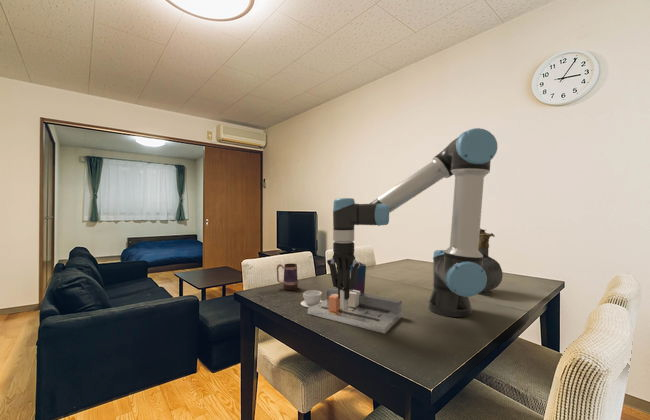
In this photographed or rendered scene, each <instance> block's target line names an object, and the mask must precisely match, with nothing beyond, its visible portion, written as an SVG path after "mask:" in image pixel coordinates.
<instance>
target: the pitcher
mask: <svg viewBox="0 0 650 420" xmlns="http://www.w3.org/2000/svg"><path fill="white" fill-rule="evenodd" d="M486 231H487V229H483V228H480V233H479V246H478V250H479V252H480V253H481V254H482V255H483V263H482V268H483V269H484V271H485V273H486V276H487V282H486V286H485V288H484V289H483V290H482V291H481V292H480V293H478V294H477V295H480V296H481V295H482V296H490V295H492V293H493V292H492V291H491V290H494V289H496V288H498V287H499V285H500V284H501V282H502V281H503V270H502V267H501V265H500V263H499V262H498V261H497V260H496V259H494V258H493V257H491V256H489V248H490V243H489V242H490V238H491V237H493V238H494V237H496V236H495V234H494V233H492V232H491V233H487V232H486Z"/></svg>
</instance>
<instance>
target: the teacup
mask: <svg viewBox="0 0 650 420" xmlns="http://www.w3.org/2000/svg"><path fill="white" fill-rule="evenodd" d="M322 297H323V293H322V291H320V290H314V289H313V290H306V291H304V292H303V293H302V298H303V299H304V300H303V301H301V302H300V305H301V306H302V307H305V308H310V307H312V306H314V305H316V304H318V303H320V302H322V301H323V300H322Z"/></svg>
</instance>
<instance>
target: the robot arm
mask: <svg viewBox="0 0 650 420" xmlns="http://www.w3.org/2000/svg"><path fill="white" fill-rule="evenodd" d="M497 152H498V141H497V139H496V137H495V135H494V134H493V133H491V131H489V130H487V129H485V128H480V127H477V128H475V127H474V128H470V129H468V130H466V131H463V132H462V133H461V134H460V135H459V136H458V137H456V138H455V139H454V140H452V141H450V143H449V144H448V145H446V147H445V148H443V150H442V151H440V152H439V153H438V154H436V155H435V156H433V157H432V159H431V162H429V163H428V164H426V165H425V166H423V167H422V168H420V169H418V170H417V171H415V172H414V173H413V174H411V175H409V176H408V177H407V178H405V179H404V180H402V181H401V182H399V183H398V184H396V185H395V186H393V187H392V188H390V189H389V190H387V191H386V192H384V193H383V194H381V195H380V196H379V197H377V198H376V199H373V201H371V202H369V203H356V201H355V199H354V198H352V197H351V198H349V197H347V198H346V197H344V198H343V197H342V198H341V197H339V198H338V197H337V198H335V199H334V200H333V208H332V209H333V210H332V220H333V221H332V226H333V228H332V231H333V232H332V240H333V241H334V242H333V244H332V248H333V249H332V250H333V251H332V252H333V255H332V257H331V258H330V259H327V260H326V263H327V264H328V267H329V271H330V277H331V283H332V287H333V288H336V289H338V298H340V309H345V308H347V299H349V291H352V290H351V289H353V288H354V287H355V283H356V278H357V274H358V269H359V268H360V266H361V263H362V262H360V261H359V262H358V261H357V260H356V257H355V243H354V241H355V226H378V227H379V226H387V225H389V223H390V214H391V213H392V212H394V211H395V210H396V209H397V210H398V208H400V207H401V206H402V205H404V204H406V203H407V202H409V201H411V199H413V198H415V197H416V196H418V195H420V194H421V193H423V192H424V191H426V190H427V189H429V188H430V187H432V186H434V185H435V184H436V183H438V182H439V181H441V180H443V179H448V178H450V177H452V176H454V190H453V203H452V214H451V215H452V216H451V228H450V229H451V230H450V239H449V240H450V242H449V247H448V248H447V249H436V250H435V251H434V252H433V257H432V260H433V262H432V266H433V280H432V281H433V283H432V285H433V286H432V287H433V288H432V291H431V293H430V296H429V299H428V309H429V311H431V312H433V313H435V314H437V315H441V316H446V317H452V318H465V317H469V316H471V315H472V310H473V309H472V305H471V301H470V299H469V297H474V296H477V295H479V294H478V293H480V292H481V291H482V290H483V289H484V288H485V286H486V282H487V276H486V273H485V271H484V269H483V268H482V263H483V255H482V254H481V253H480V252H479V250H478V246H479V233H480V229H481V221H482V220H481V219H482V218H481V217H482V206H483V205H482V204H483V194H484V181H485V180H484V179H485V177H486V176H487V175H488V174H489V173H490V171H491V162H492V160H493V159H494V157H495V156H496V154H497ZM352 264H353V269H352V273H350V270H351V265H352Z"/></svg>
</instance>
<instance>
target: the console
mask: <svg viewBox="0 0 650 420" xmlns="http://www.w3.org/2000/svg"><path fill="white" fill-rule="evenodd" d="M350 291H351V290H349V292H350ZM332 294H338V288H336V287H329V288H327V289H326V299H324V300H322V302H320V303H318V304H316V305H314V306H312V307H307V315H311V316H315V317H318V318H322V319H325V320H326V319H327V320H329V321H334V322H338V323H341V324H346V325H350V326H353V327H357V328H358V327H359V328H361V329H366V330H369V331H373V332H378V333H382V334H386V333H387V332H388V331H390V329H391V328H393V326H394V325H395V324H396V323H398V321H399V320H401V318H402V314H403V313H402V309H403V308H402V306H403V303H402V300H401V299H394V298H390V297H384V296H379V295H374V294H369V293H364V294H363V293H360V295H359V305H358V306H357V307H350V306H348V299H347V308H345V309H341V310H339V311H337V312H333V311H329V296H331V295H332Z"/></svg>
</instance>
